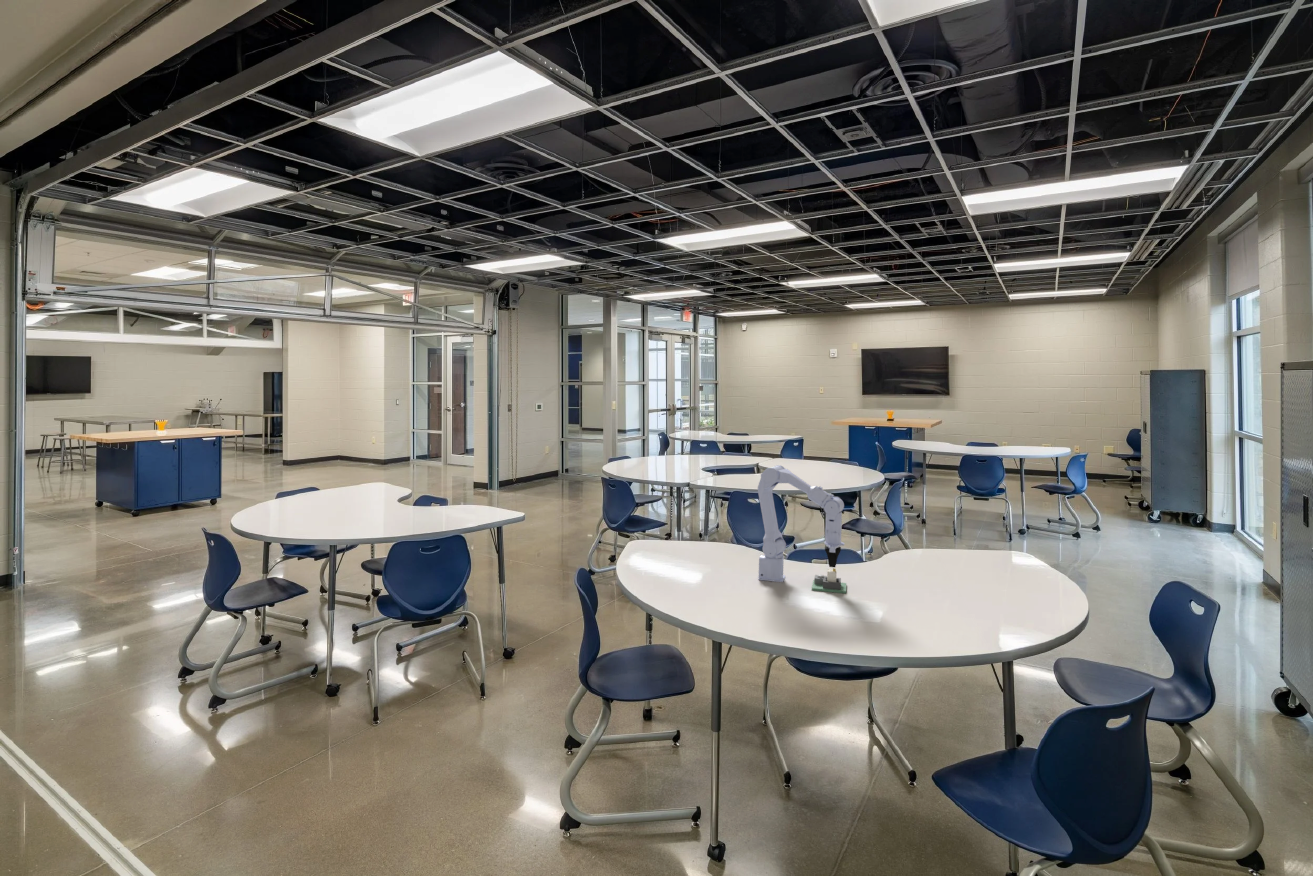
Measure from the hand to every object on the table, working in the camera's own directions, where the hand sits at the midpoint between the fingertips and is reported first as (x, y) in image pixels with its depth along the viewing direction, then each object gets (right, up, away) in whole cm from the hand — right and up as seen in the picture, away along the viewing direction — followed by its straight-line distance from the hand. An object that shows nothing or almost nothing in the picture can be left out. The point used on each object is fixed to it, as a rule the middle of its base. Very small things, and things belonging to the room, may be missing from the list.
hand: (832, 566), depth 227 cm
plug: (0, -8, +1) cm, 8 cm away
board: (-1, -8, +2) cm, 8 cm away
